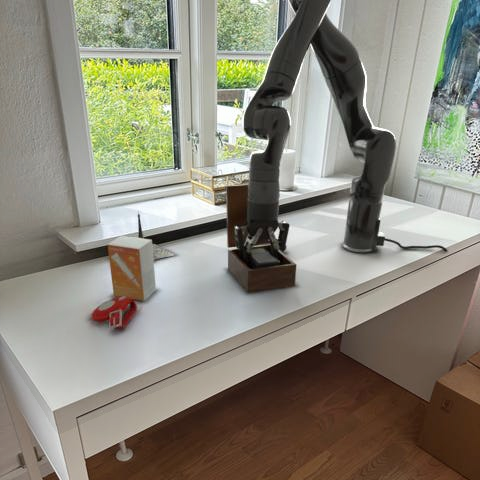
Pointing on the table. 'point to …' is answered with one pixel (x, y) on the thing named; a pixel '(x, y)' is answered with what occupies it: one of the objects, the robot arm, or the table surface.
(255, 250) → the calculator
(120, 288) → the small box
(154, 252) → the eiffel tower figurine
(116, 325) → the tracker holder
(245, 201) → the cover
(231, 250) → the case
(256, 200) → the robot arm
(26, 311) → the table surface
